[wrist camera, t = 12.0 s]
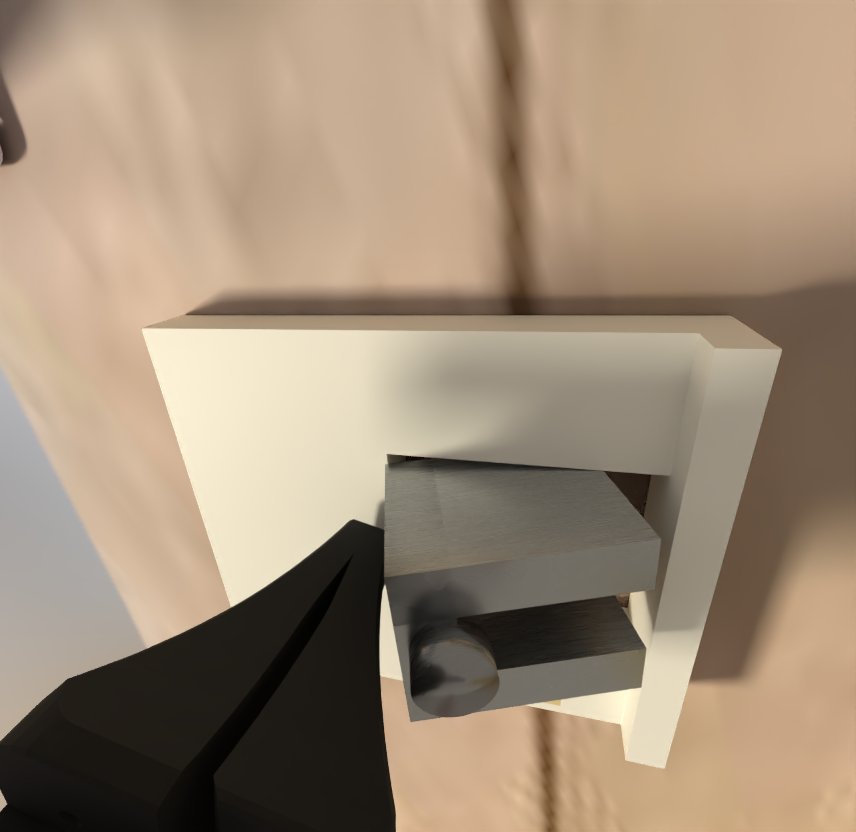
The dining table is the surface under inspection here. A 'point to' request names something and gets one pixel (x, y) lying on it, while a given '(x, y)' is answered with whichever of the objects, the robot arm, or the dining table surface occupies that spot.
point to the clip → (511, 583)
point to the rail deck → (473, 444)
